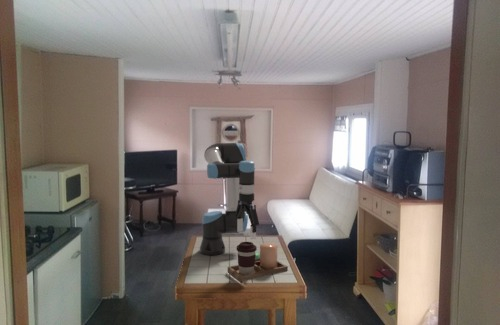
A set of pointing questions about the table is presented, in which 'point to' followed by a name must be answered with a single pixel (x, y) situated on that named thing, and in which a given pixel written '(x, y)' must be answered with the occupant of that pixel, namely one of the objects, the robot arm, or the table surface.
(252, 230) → the robot arm
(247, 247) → the coffee cup
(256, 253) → the button
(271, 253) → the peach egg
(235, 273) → the divided tray
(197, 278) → the table surface
